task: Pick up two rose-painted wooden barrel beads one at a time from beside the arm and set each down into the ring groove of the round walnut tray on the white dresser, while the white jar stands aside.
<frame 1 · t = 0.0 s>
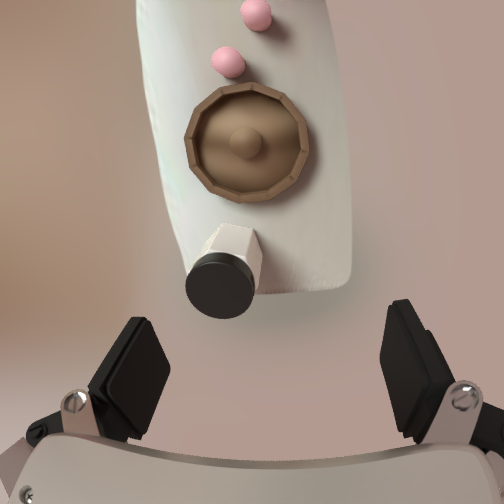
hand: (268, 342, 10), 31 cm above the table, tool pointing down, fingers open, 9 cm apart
tray: (247, 141, 37), on the table
bead a: (258, 20, 29), on the table
bead b: (232, 66, 32), on the table
jar: (234, 248, 44), on the table
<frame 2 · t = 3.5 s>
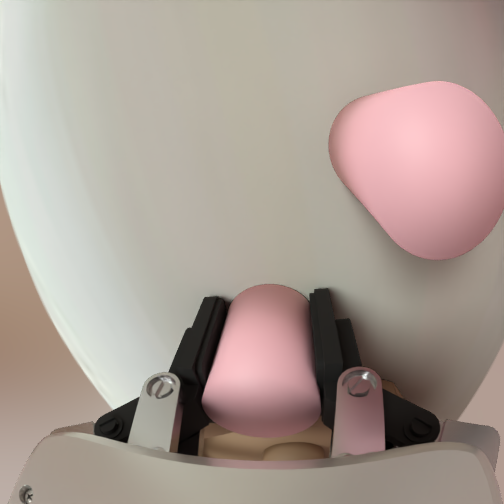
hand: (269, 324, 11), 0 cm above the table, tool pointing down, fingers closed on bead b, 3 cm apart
tray: (293, 439, 16), on the table
bead a: (380, 147, 8), on the table
bead b: (270, 320, 12), on the table, touching gripper
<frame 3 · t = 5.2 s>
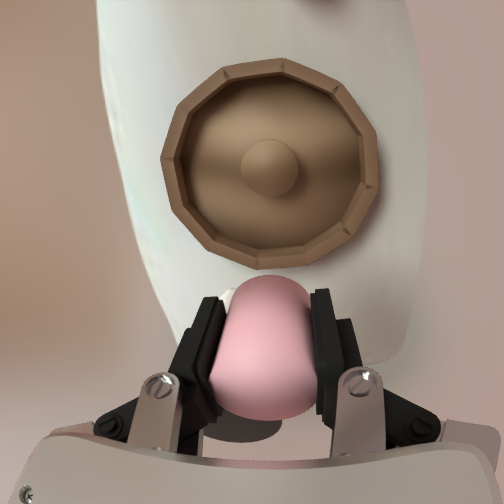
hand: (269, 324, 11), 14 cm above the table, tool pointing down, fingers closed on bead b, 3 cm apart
tray: (270, 163, 22), on the table
bead b: (270, 310, 12), point 13 cm above the table, touching gripper
jar: (245, 320, 29), on the table
when the fingers open (3 cm above the table, at t = 7.4 s): bead b stays where it is, resting on tray.
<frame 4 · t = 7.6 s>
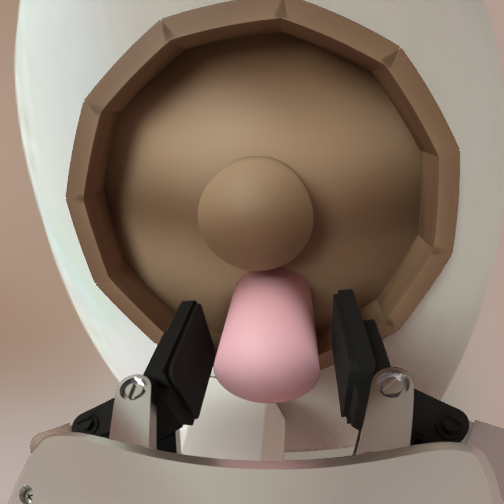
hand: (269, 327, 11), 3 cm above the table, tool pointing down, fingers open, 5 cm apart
tray: (260, 198, 12), on the table
bead b: (272, 299, 13), point 1 cm above the table, touching tray
jar: (228, 406, 20), on the table
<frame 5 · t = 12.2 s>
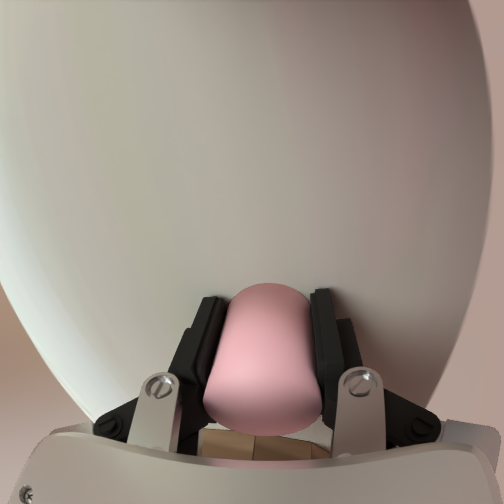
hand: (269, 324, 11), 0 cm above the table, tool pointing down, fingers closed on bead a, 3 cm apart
tray: (244, 468, 20), on the table
bead a: (269, 319, 12), on the table, touching gripper
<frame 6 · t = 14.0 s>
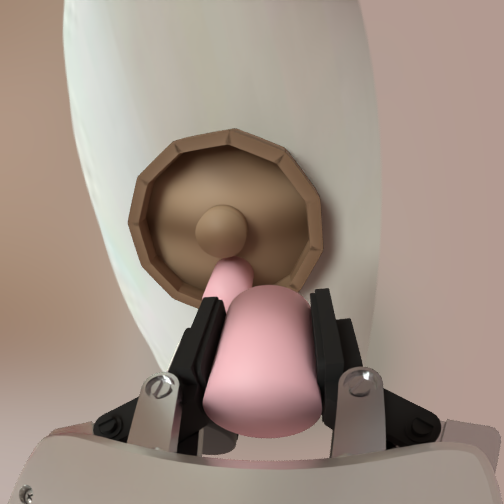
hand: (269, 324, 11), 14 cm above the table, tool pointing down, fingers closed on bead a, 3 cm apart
tray: (226, 222, 25), on the table
bead a: (269, 321, 12), point 14 cm above the table, touching gripper
bead b: (233, 273, 26), point 1 cm above the table, touching tray
jar: (215, 349, 32), on the table
when the fingers open (3 cm above the table, at t = 16.3 s): bead a drops 2 cm, resting on tray.
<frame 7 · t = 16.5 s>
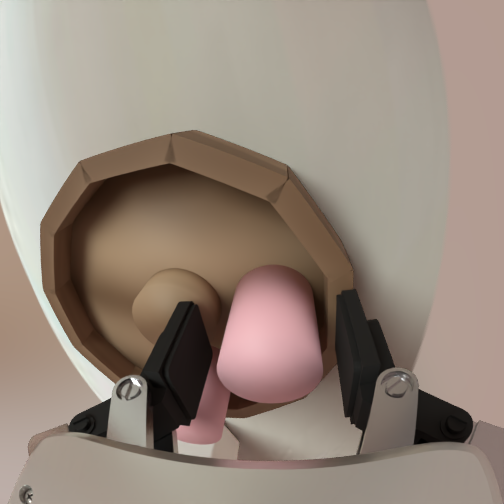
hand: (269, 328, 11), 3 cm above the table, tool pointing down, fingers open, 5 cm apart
tray: (188, 290, 15), on the table
bead a: (273, 299, 13), point 1 cm above the table, touching tray
bead b: (204, 364, 16), point 1 cm above the table, touching tray
jar: (192, 428, 22), on the table
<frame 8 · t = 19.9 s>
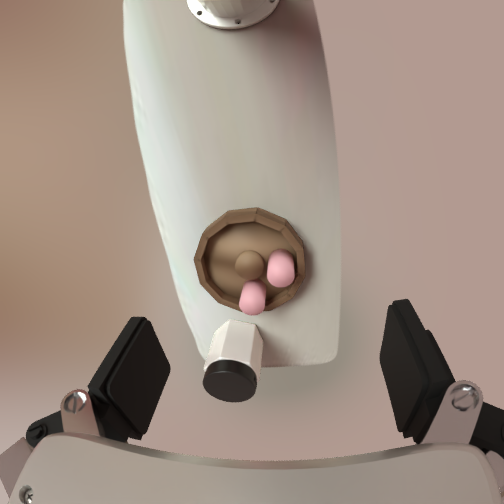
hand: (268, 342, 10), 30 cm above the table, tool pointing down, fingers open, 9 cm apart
tray: (251, 258, 43), on the table
bead a: (281, 259, 42), point 1 cm above the table, touching tray
bead b: (254, 288, 44), point 1 cm above the table, touching tray
jar: (239, 336, 51), on the table
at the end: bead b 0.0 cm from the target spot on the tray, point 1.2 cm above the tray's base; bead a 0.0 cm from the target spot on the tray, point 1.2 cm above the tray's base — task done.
